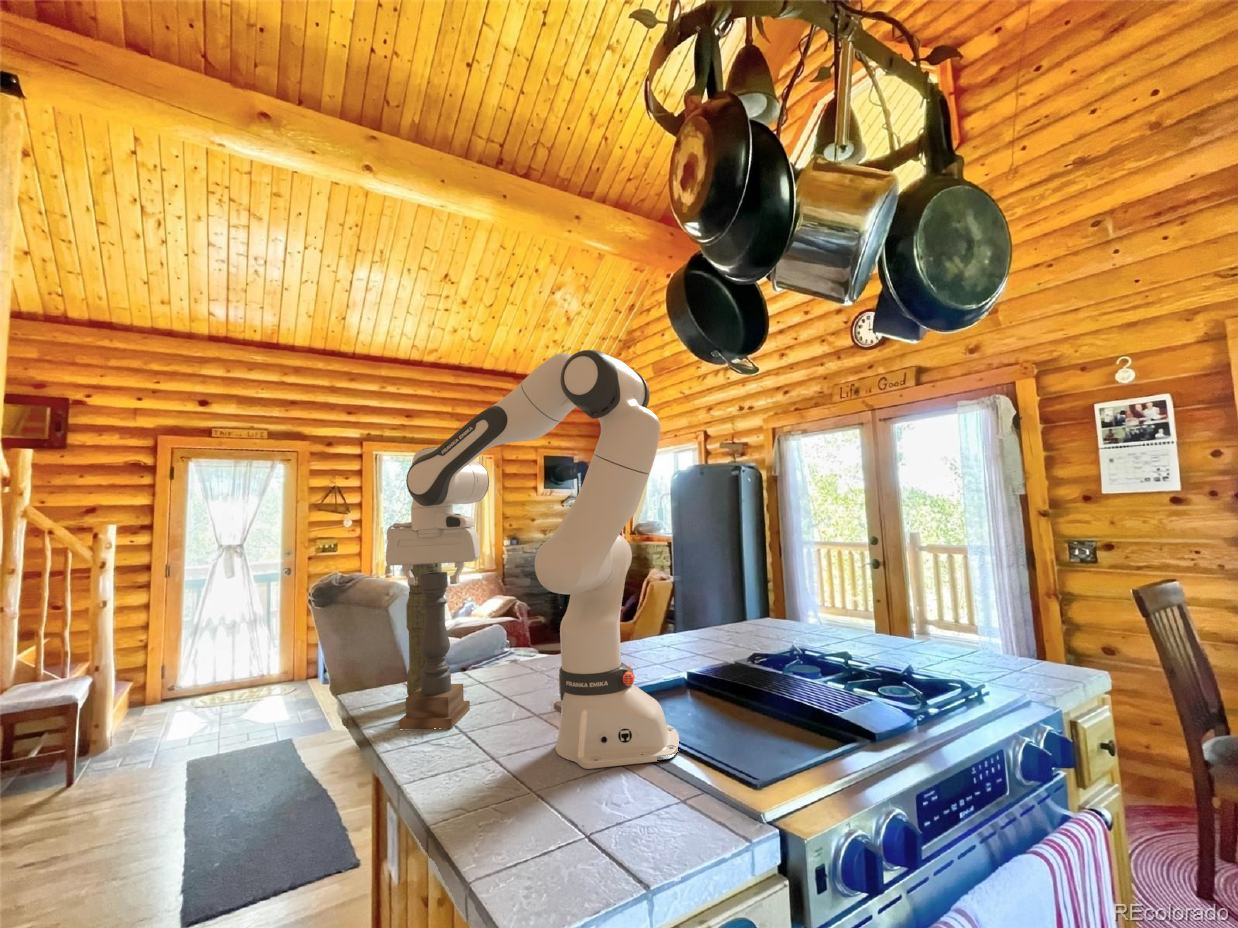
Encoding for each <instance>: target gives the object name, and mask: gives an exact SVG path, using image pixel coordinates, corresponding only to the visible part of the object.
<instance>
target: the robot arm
mask: <svg viewBox="0 0 1238 928" xmlns="http://www.w3.org/2000/svg"><path fill="white" fill-rule="evenodd" d="M650 395H651V394H650V388H649V386H648V383H647V381H646V380H645V378H644V377H643V376H642V375H641V374H640V373H639V372H638V371H635V370H634V369H632V368H630V367H629V366H628V365H627V364H626V363H624V362H623V361H622V360H621V359H618V358H616V357H613V356H610V355H608V354H607V353H605V352H602V351H599V350H594V349H585V350H584V349H583V350H581V351H577V352H575V353H574V354H568V353H565V352H560V353H557V354H554V355H553V356H551V357H549V358H548V359H546V360H545V361H543V362H542V363H541V364H540V365H538V366H537V367H536V368H535V369H534V370H533V371H532V372H531V373H529V374H528V375H527V376H526V377H525V378H524V379H523V380H522V381H521V382H520V383H519V384H518V385H517V386H516V387H515V388H514V389H513V390H511V391H510V392H509V393H508V394H507V395H505V396H504V397H503V398H501V399H500V400H499V401H497V402H496V403H494V404H492V405H491V406H489V407H487V408H486V409H484V410H483V411H481V412H480V413H478V414H476V415H475V416H474V417H473V418H472V419H470V420H469V421H468V422H467V423H465V424H464V425H463V426H462V427H461V428H460V429H458V430H457V431H456V432H455V433H454V434H453V435H452V436H450V437H449V438H448V439H447V440H445V441H444V442H443V443H442V444H441V445H440V446H433V447H425V448H422V449H419V450H418V451H416V452H415V453H414V455H413V457H412V461H411V465H410V467H409V469H408V471H407V474H406V480H405V482H406V487H407V490H408V493H409V495H410V496H411V498H412V501H411V506H410V517H411V519H410V521H411V522H402V523H401V522H399V523H398V522H395V523H392V524H391V525H390V526H389V527H388V528H387V530H386V540H387V543H386V548H385V549H386V551H385V561H386V564H388V566H390V567H391V566H401V567H402V568H401V569H402V570H401V571H402V572H403V573H404V576H405V577H406V578H407V586H408V587H409V586H415V585H417V584H418V582H417V580H418V577H414V576H413V574H412V572H411V570H410V569H413V564H434V563H441V564H450V563H452V564H453V563H454V568H455V569H456V570H455V571H454V574H453V575H450V576H449V579H450V580H449V584H450V585H457V584H459V583H460V575H461V574H462V571H463V569H464V567H465V563H473V562H476V561H478V560H479V558H480V556H481V547H480V546H481V545H480V540H479V539H480V538H479V535H478V532H477V531H476V529H474V528H473V527H475V524H476V520H475V519H474V517H471V516H468V515H465V514H461V513H456V512H454V507H453V506H454V505H467V504H468V505H470V504H474V503H478V502H480V501H481V500H483V498H484V497H485V496H486V494H487V492H488V491H489V487H490V478H489V473H488V471H487V469H486V468H485V466H484V465H483V464H482V463H480V462H478V461H474V460H476V458H478V457H479V456H480V455H481V454H482V453H484V452H486V451H488V450H489V449H491V448H493V447H497V446H500V445H504V444H511V443H519V442H529V441H530V442H531V441H536V440H539V439H540V438H543V436H545V435H546V434H549V433H550V432H551V431H552V430H554V429H555V427H556V426H558V425H559V423H561V422H562V421H563V420H564V419H565V418H566V417H567V416H568V414H570V413H571V412H572V411H573V410H574V409H576V408H578V409H579V410H581V411H582V412H583V413H584V414H585V415H586V416H588V418H590V419H592V420H593V419H595V420H596V419H598V422H599V423H600V424H599V425H600V435H599V438H598V441H597V443H596V446H595V448H594V449H595V450H593V451H594V452H593V455H592V457H591V460H590V463H589V465H588V468H587V471H586V474H585V477H584V479H583V482H582V484H581V487H580V490H579V492H578V494H577V496H576V497H575V499H574V501H573V503H572V505H571V507H570V508H569V510H568V511H567V513H566V514H565V516H564V518H563V519H562V521H561V522H560V524H559V525H558V526H557V529H555V531H554V532H553V533H552V535H551V536H549V538H548V539H547V540H545V542H543V544H541V545H540V546H539V548H538V549H537V552H536V554H535V559H534V571H535V575H536V577H537V579H538V581H539V583H540V584H541V585H542V586H543V587H544V589H546V590H547V591H549V592H552V593H555V594H561V595H570V596H569V602H568V604H567V608H566V611H565V613H564V616H562V618H561V619H562V620H561V621H560V628H559V631H560V632H559V636H560V637H559V638H560V639H559V641H560V659H561V661H560V662H561V663H560V665H561V666H560V668H559V674H558V687H559V689H558V691H559V692H558V693H559V696H560V697H559V698H560V701H561V711H560V712H561V713H560V721H559V730H558V735H557V740H556V744H555V752H556V753H557V754H558V756H560V757H561V758H563V759H566V760H569V761H572V762H575V763H576V764H577V765H579V766H580V767H581V768H583V769H587V770H589V769H599V768H607V767H618V766H627V765H634V764H635V765H637V764H645V763H654V762H658V761H657V757H659V756H666V755H667V756H668V755H672V754H675V753H677V752H678V753H679V751H678V746H679V741H680V735H679V733H678V730H677V729H676V728H675V727H673V726H671V725H669V724H667V720H666V716H665V713H664V711H663V708H662V706H661V704H660V703H659V702H658V701H657V699H655V698H654V697H652V696H651V695H650V694H648V693H647V692H645V691H643V690H642V689H641V688H639V687H638V686H637V685H635V684H634V682H635V673H634V672H633V668H632V665H631V664H628V665H627V664H625V663H623V662H622V652H621V651H622V650H621V649H622V648H621V629H620V628H621V625H620V624H621V613H622V612H621V611H622V602H623V597H624V590H625V583H626V577H627V573H628V571H629V569H630V567H631V564H632V559H633V552H632V548H631V545H630V543H629V542H628V540H626V538H625V537H624V536H622V535H621V533H622V531H623V530H624V528H625V526H627V524H628V522H629V521H630V520H631V519H632V518H633V517H634V515H635V514H636V512H637V509H638V507H639V503H640V501H641V498H642V496H643V494H644V491H645V488H646V485H647V482H648V480H649V477H650V473H651V471H652V468H653V465H654V462H655V459H656V455H657V451H658V447H659V443H660V442H659V441H660V436H661V428H662V427H661V421H660V420H659V418H658V417H657V415H656V414H655V413H654V412H653V411H652V410H650V409H648V406H649V402H650ZM678 753H677V754H678Z"/></svg>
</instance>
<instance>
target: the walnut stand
mask: <svg viewBox="0 0 1238 928" xmlns="http://www.w3.org/2000/svg"><path fill="white" fill-rule="evenodd" d="M464 695H465V694H464V683H451V690H450V691H448V692H446V693H443V694H439V695H423V694H421V687H420V688H419V689H418V690H416V691H415V692H414V693H412V694H411V695H410V696H408V695H407V697H406V698H405V715H404V716H402V717H401V718H400V719H399V720H398V730H399V729H431V730H440V729H439V728H452V727H453V726H454V727H455V726H456V725H457V724H458V723H459V722H460V721H461V720H462V719H463V718H464V717H465V716H466V715H467V713H468V712H469V711H470V710H471V707H470V706H471V705H470V703H471V702H470V700H464V699H465V698H464V697H465V696H464ZM463 716H464V717H463ZM462 717H463V718H462ZM461 718H462V719H461ZM460 719H461V720H460ZM459 720H460V721H459ZM458 721H459V722H458ZM457 722H458V723H457ZM456 723H457V724H456ZM455 724H456V725H455ZM454 727H453V728H454ZM434 728H436V729H434ZM453 728H452V729H453Z"/></svg>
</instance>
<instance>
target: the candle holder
mask: <svg viewBox="0 0 1238 928" xmlns="http://www.w3.org/2000/svg"><path fill="white" fill-rule="evenodd" d="M420 580H421V589H422V593H423V595H424V597H425V600H424V601H423V602H422V605H423V606H424V608H425V614H426V623H425V627H424V632H423V637H422V642H421V653H422V655H423V656H424V657H425V661H426V663H425V665H424V667H423V668H422V672H423V673H424V674H423V675H422V676H421V694H423V695H439V694H443V693H446V692H448V691H450V690H451V684H452V679H451V678H452V674H451V671H449V669H450V665H449V663H448V661H446V658H447V654H448V653H449V651H450V647H451V643H450V639H449V634H448V632H447V627H446V621H445V622H444V606H445V607H446V604H448V601H447V599H446V598H445V597H444V596H445V595H446V592H447V588H448V585H449V584H448V571H442V572H429V573H422V574H420Z"/></svg>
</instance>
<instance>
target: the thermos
mask: <svg viewBox="0 0 1238 928" xmlns="http://www.w3.org/2000/svg"><path fill="white" fill-rule="evenodd" d="M410 570H411V572H412V574H413V576H414V577H418V580H417V582H418V584H417V585H415V586H408V588H409V591H408V599H407V602H406V605H405V606H406V611H405V612H406V616H405V617H406V629H407V631H408V656H409V657H408V659H409V661H408V664H409V665H408V671H407V675H406V691H407V692H406V694H407V697H408V696H410V695H411V694H412V693H414V692H415V691H416V690H418V689H419V688H420V687H421V676H422V675H423V674H424V673H423V672H422V668H423V667H424V665H425V663H426V661H425V657H424V656H423V655H422V653H421V642H422V637H423V632H424V627H425V623H426V614H425V608H424V606H423V605H422V602H423V601H424V600H425V597H424V595H423V593H422V589H421V580H420V574H422V573H429V572H443V570H442V563H434V564H413V569H410ZM444 622H445V623H446V605H445V606H444Z"/></svg>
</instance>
